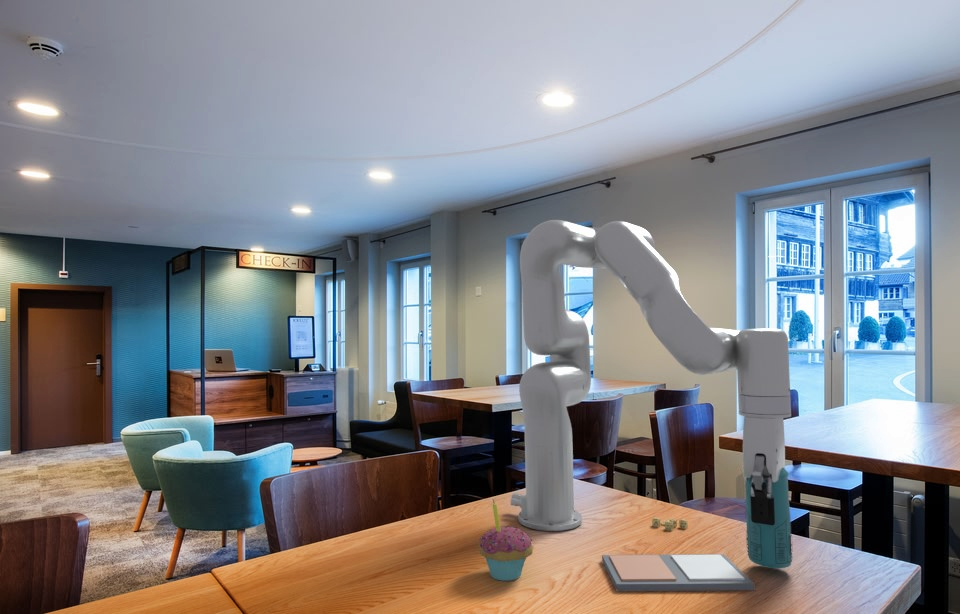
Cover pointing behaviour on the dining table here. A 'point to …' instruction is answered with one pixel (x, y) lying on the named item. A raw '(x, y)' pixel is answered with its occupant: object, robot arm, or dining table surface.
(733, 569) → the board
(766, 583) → the dining table surface
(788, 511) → the beverage bottle
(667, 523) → the dice set
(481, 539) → the cupcake
